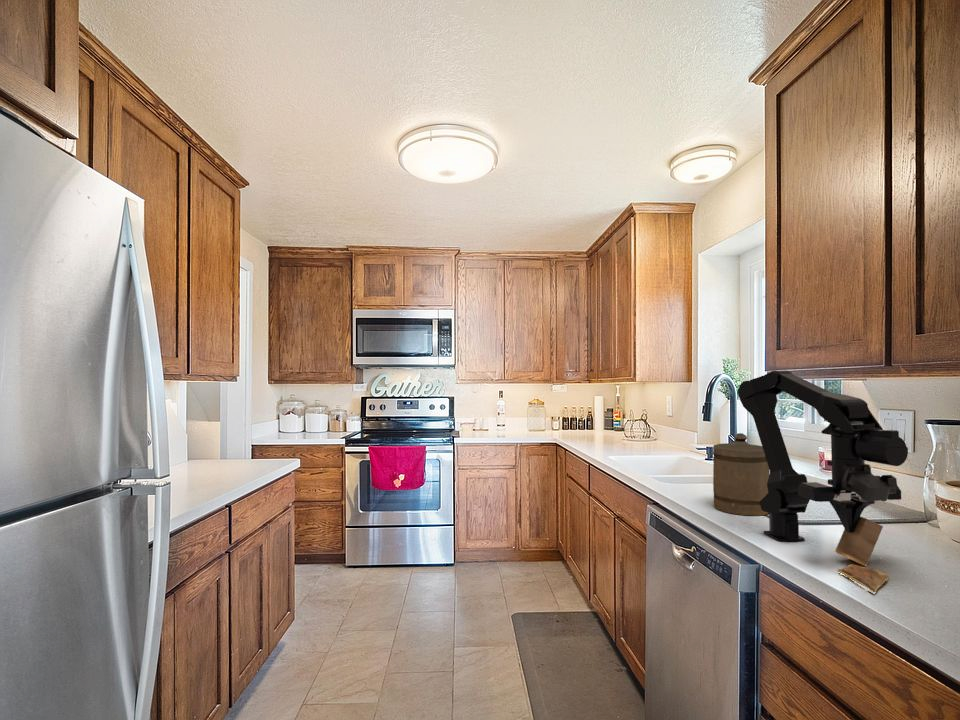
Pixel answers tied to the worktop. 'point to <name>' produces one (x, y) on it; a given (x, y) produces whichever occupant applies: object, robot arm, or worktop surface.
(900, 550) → the worktop surface
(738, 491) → the wooden container
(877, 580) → the shard
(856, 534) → the walnut block
